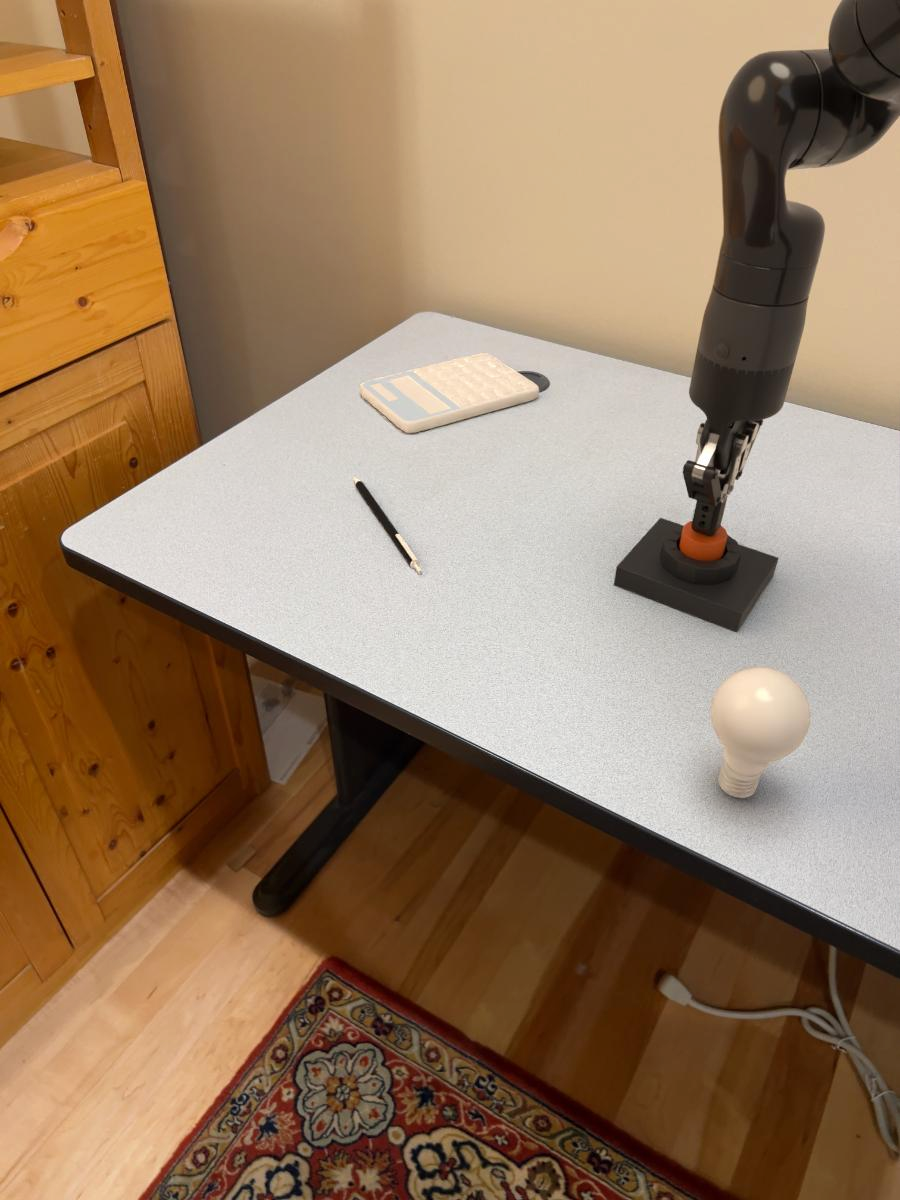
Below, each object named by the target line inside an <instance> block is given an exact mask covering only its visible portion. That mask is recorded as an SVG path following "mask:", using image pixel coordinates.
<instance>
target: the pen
mask: <svg viewBox="0 0 900 1200" xmlns="http://www.w3.org/2000/svg"><path fill="white" fill-rule="evenodd" d="M353 481H354V485H355V488H356V490H357V491H358V492H359V493H360V495H361V497H362V498H363V499H364V501H365V502H366V504H367V505H368V507H369V508H370V510H371V511H372V512H373V514H374V516H375V517H376V518H377V520H378V522H379V523H380V524H381V525H382V527H383V529H384V530H385V531H386V533H387V534H388V536H389V537H390V538H391V541H392V542H393V543H394V544H395V546H396V548H397V549H398V550H399V552H400V553H401V555H402V556H403V558H404V559H405V560H406V562H407V564H408V565H409V566H410V568H411V569H415V570H416V572H417V574H419V575H422V573H423V570H422V568H421V567H420V561H419V560H418V558H417V557H416V554H414V552H413V551H412V549H411V548H410V547H409V545H408V543H407V542H406V541H405V539H404V538H403V537H402V535H401V533H399V532H398V530H397V529H396V527H395V526H394V524H393V523H392V522H391V520H390V519H389V517H388V516H387V515H386V513H385V512H384V510H383V509H382V508H381V506H380V505H379V503H378V502H377V500H376V499H375V497H374V496H373V494H371V492H370V491H369V489H368V487H367V486H366V485H365V483H364V482H363V481H362V480H360V479H359V478H357V477H356V476H353Z"/></svg>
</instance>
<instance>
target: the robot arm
mask: <svg viewBox="0 0 900 1200" xmlns="http://www.w3.org/2000/svg"><path fill="white" fill-rule="evenodd" d="M831 17H832V18H831V20H830V24H829V29H828V35H827V45H828V48H816V49H795V50H793V49H791V50H790V49H789V50H774V51H773V50H771V51H766V52H762V53H758V54H757V55H755V56H753V57H751V58H750V59H748V60H747V61H746V62H745V63H743V64H742V66H741V67H740V68H739V69H738V70H737V72H736V73H735V75H734V76H733V78H732V80H731V81H730V83H729V85H728V86H727V89H726V91H725V94H724V96H723V99H722V102H721V105H720V111H719V117H718V124H717V125H718V127H717V130H718V132H717V134H718V136H717V137H718V139H717V140H718V141H717V142H718V153H719V163H720V178H721V180H720V181H721V202H722V203H721V204H722V205H721V206H722V220H723V225H722V236H721V241H720V246H719V251H718V257H717V262H716V267H715V272H714V277H713V282H712V283H713V284H712V287H711V291H710V294H709V297H708V300H707V303H706V306H705V309H704V313H703V316H702V320H701V321H702V322H701V326H700V331H699V337H698V342H697V347H696V353H695V357H694V363H693V368H692V374H691V379H690V383H689V388H688V396H689V398H690V401H691V402H692V403H693V404H694V405H695V406H696V407H697V408H698V409H699V410H700V411H702V412H703V413H704V415H705V416H706V420H705V422H701V423H700V425H699V426H698V429H697V433H696V439H695V443H696V445H697V450H696V454H695V459H694V461H693V460H690V459H688V460H687V461H686V462H685V463H684V464H683V467H682V475H683V476H682V477H683V480H684V483H685V487H686V488H685V489H686V492H687V497H688V498H689V499H692V500H695V501H696V503H695V507H694V512H693V516H692V520H691V521H692V525H691V527H692V529H693V530H694V531H696V532H698V533H701V534H704V535H707V536H713V535H714V534H715V533H716V531H717V530H718V529H719V528H720V526H722V522H723V517H724V513H725V509H726V505H727V501H728V496H729V495H731V493H732V492H733V491H734V489H735V481H738V480H739V479H740V478H741V477H742V475H743V470H744V468H745V467H746V464H747V461H748V458H749V455H750V453H751V451H752V449H753V446H754V444H755V441H756V438H757V436H758V434H759V431H760V429H761V427H762V426H763V424H764V420H766V419H769V418H771V417H774V416H775V415H777V414H778V413H779V412H780V411H781V410H782V408H783V407H784V404H785V401H786V397H787V393H788V389H789V386H790V381H791V378H792V374H793V371H794V367H795V363H796V359H797V356H798V352H799V349H800V344H801V341H802V337H803V334H804V330H805V325H806V318H807V309H808V302H809V298H810V294H811V290H812V286H813V283H814V278H815V275H816V271H817V267H818V264H819V260H820V257H821V252H822V248H823V243H824V238H825V233H826V224H825V223H826V222H825V220H824V216H823V215H822V213H820V212H819V211H818V210H817V209H815V208H814V207H812V206H810V205H807V204H804V203H801V202H798V201H793V200H787V195H786V194H787V193H786V175H787V173H788V172H787V171H793V170H806V169H817V168H818V169H819V168H828V167H833V166H838V165H841V164H844V163H846V162H848V161H851V160H853V159H855V158H857V157H858V156H860V155H862V154H863V153H865V152H867V151H869V150H870V149H871V148H872V147H874V145H876V144H877V143H878V142H880V140H881V139H882V138H883V137H885V135H886V133H887V132H888V131H889V130H890V129H891V127H892V126H893V125H894V124H895V123H896V122H897V120H898V119H899V117H900V0H841V1H840V2H839V4H838V5H837V7H836V8H835V11H834V13H833V15H832V16H831Z"/></svg>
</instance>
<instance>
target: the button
mask: <svg viewBox="0 0 900 1200" xmlns="http://www.w3.org/2000/svg"><path fill="white" fill-rule="evenodd" d="M691 525H692V520H690V521H688V522H686V523H685V524H684V525H683V526H684V527H683V530H682V535H681V539H680V544H679V549H680V551H681V552H682V553H683V554H684V555H685V556H687V557H690V558H693V559H696V560H699V561H715V560H718V559H720V558H721V557H722V556H723V553H724V549H725V545H726V541H727V537H728V535H729V534H728V532H727V530H726V528H725V527H724V526H722V525H721V526H720V528H719V529H718V530H717V531H716V533H715V534H714V535H713V536H707V535H704V534H701V533H698V532H696V531H694V530H693V529H692V527H691Z"/></svg>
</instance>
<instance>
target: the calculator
mask: <svg viewBox="0 0 900 1200" xmlns="http://www.w3.org/2000/svg"><path fill="white" fill-rule="evenodd" d="M358 388H359V389H358V390H359V393H360V395H361V397H362V398H363V399H365V400H366V401H367V402H368V403H369V404H370V405H372V406H373V407H374V408H375V409H376V410H377V411H378V412H380V413H381V414H382V415H383V416H384V417H386V418H387V419H388V420H389V421H390V422H391V423H393V424H394V425H395V426H396V427H397V428H399V429H400V430H401V431H402V432H404V433H407V434H415V433H419V432H424V431H427V430H431V429H435V428H438V427H441V426H445V425H449V424H453V423H456V422H459V421H462V420H466V419H470V418H474V417H478V416H481V415H484V414H489V413H491V412H495V411H499V410H502V409H505V408H510V407H513V406H517V405H521V404H524V403H528V402H530V401H531V402H532V401H533V400H535V399H537V398H538V397H539V395H540V388H539V386H538V385H537V384H536V383H535V382H533V381H532V380H531V379H530V378H528V377H526V376H524V375H523V374H521V373H519V371H516V370H515V369H513V368H512V367H510V366H509V365H507V364H506V363H504V362H503V361H501V360H500V359H498V358H496V357H495V356H493V355H491V354H490V353H486V352H480V353H475V354H471V355H467V356H463V357H459V358H454V359H450V360H447V361H441V362H438V363H434V364H429V365H425V366H422V367H418V368H412V369H410V370H405V371H400V372H397V373H393V374H388V375H385V376H381V377H377V378H372V379H369V380H366V381H365V380H364V381H363V382H361V383H360V384H359V387H358Z"/></svg>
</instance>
